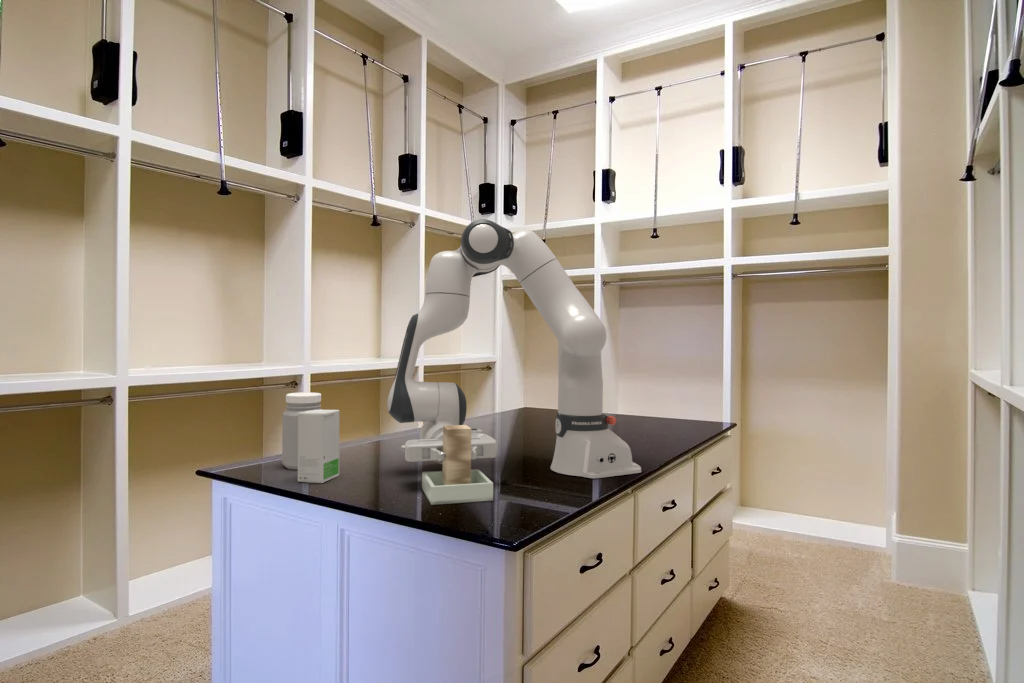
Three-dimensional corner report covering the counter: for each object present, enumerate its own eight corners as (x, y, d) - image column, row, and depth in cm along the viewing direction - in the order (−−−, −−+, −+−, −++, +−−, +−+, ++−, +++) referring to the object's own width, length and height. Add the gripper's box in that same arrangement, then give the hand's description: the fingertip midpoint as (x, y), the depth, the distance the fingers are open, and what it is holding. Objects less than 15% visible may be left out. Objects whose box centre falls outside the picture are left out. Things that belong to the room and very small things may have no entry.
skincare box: (321, 484, 128) (322, 413, 128) (294, 482, 129) (295, 412, 129) (340, 475, 136) (341, 409, 136) (314, 473, 138) (315, 407, 137)
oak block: (465, 480, 125) (466, 424, 125) (470, 486, 120) (471, 428, 120) (442, 481, 124) (443, 425, 123) (446, 488, 119) (447, 429, 119)
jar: (291, 461, 150) (292, 391, 150) (329, 462, 150) (330, 392, 150) (275, 470, 140) (275, 395, 140) (315, 471, 140) (315, 396, 140)
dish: (478, 484, 130) (478, 468, 130) (493, 500, 118) (493, 483, 118) (421, 488, 126) (422, 472, 126) (431, 504, 114) (431, 487, 114)
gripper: (400, 432, 131) (407, 443, 118) (487, 428, 137) (504, 439, 124) (399, 459, 131) (406, 474, 118) (487, 455, 137) (503, 468, 124)
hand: (457, 456), depth 121 cm, fingers closed on oak block, 5 cm apart
